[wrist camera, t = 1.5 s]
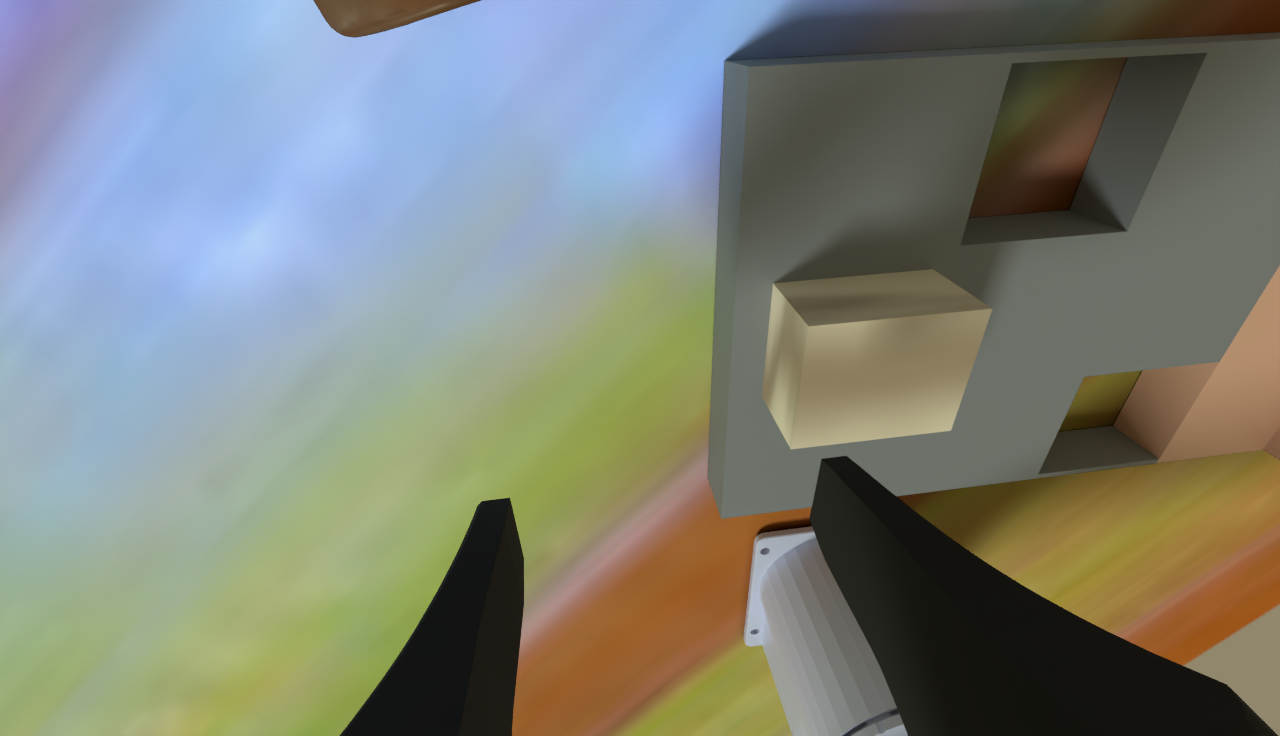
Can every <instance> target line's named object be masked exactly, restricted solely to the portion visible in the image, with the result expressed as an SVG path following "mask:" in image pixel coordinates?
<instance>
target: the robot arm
mask: <svg viewBox="0 0 1280 736" xmlns="http://www.w3.org/2000/svg"><path fill="white" fill-rule="evenodd" d="M810 522H811V524H812V526H810V527H803V528H795V529H787V530H780V531H772V532H764V533H761V534H759V535H758V536H757V537H756V538H755V540H754V548H753V557H752V566H751V575H750V584H749V593H748V602H747V611H746V620H745V629H744V641H745V644H746V645H747V646H758V645H763V648H764V651H765V654H766V657H767V660H768V663H769V666H770V669H771V672H772V675H773V678H774V681H775V684H776V687H777V690H778V693H779V696H780V699H781V702H782V705H783V708H784V711H785V714H786V717H787V720H788V723H789V726H790V729H791V732H792V735H793V736H1278V735H1277V734H1276V733H1275V732H1274V731H1273V730H1272V729H1271V728H1270V727H1269V726H1268V725H1267V724H1266V723H1265V722H1264V721H1263V720H1262V719H1261V718H1260V717H1259V716H1258V715H1257V714H1256V713H1255V712H1254V711H1253V710H1252V709H1251V708H1250V707H1249V706H1248V705H1247V704H1246V703H1245V702H1244V701H1243V700H1242V699H1241V698H1240V697H1239V696H1238V695H1237V694H1236V693H1235V692H1234V691H1233V690H1232V689H1231V688H1230V687H1228V686H1227V685H1226V684H1224V683H1222V682H1219V681H1217V680H1215V679H1212V678H1210V677H1208V676H1205V675H1203V674H1200V673H1198V672H1196V671H1193V670H1191V669H1189V668H1186V667H1184V666H1182V665H1179V664H1177V663H1175V662H1172V661H1170V660H1168V659H1165V658H1163V657H1161V656H1158V655H1156V654H1154V653H1152V652H1149V651H1147V650H1145V649H1143V648H1141V647H1139V646H1137V645H1135V644H1132V643H1130V642H1128V641H1126V640H1124V639H1122V638H1120V637H1118V636H1116V635H1114V634H1112V633H1109V632H1107V631H1105V630H1103V629H1101V628H1099V627H1098V626H1096V625H1094V624H1092V623H1090V622H1088V621H1086V620H1084V619H1082V618H1080V617H1078V616H1076V615H1074V614H1072V613H1071V612H1069V611H1067V610H1065V609H1063V608H1062V607H1060V606H1058V605H1056V604H1054V603H1052V602H1051V601H1049V600H1047V599H1045V598H1043V597H1041V596H1040V595H1038V594H1036V593H1035V592H1033V591H1031V590H1029V589H1028V588H1026V587H1024V586H1023V585H1021V584H1019V583H1018V582H1016V581H1015V580H1013V579H1011V578H1010V577H1008V576H1007V575H1005V574H1003V573H1002V572H1000V571H998V570H997V569H995V568H994V567H992V566H990V565H989V564H987V563H986V562H984V561H983V560H981V559H980V558H978V557H977V556H975V555H974V554H972V553H971V552H970V551H968V550H967V549H965V548H964V547H962V546H961V545H960V544H958V543H957V542H955V541H954V540H953V539H951V538H950V537H948V536H947V535H945V534H944V533H943V532H941V531H940V530H939V529H937V528H936V527H935V526H933V525H932V524H931V523H929V522H928V521H927V520H925V519H924V518H923V517H922V516H920V515H919V514H918V513H916V512H915V511H914V510H913V509H911V508H910V507H909V506H908V505H906V504H905V503H904V502H903V501H901V500H900V499H899V498H898V497H896V496H895V495H894V494H893V493H891V492H890V491H889V490H888V489H886V488H885V487H884V486H883V485H882V484H880V483H879V482H878V481H877V480H876V479H874V478H873V477H872V476H871V475H869V474H868V473H867V472H866V471H865V470H863V469H862V468H861V467H860V466H859V465H857V464H856V463H855V462H854V461H852V460H851V459H850V458H849V457H847V456H840V457H832V458H824V459H821V464H820V469H819V474H818V479H817V484H816V489H815V494H814V499H813V504H812V509H811V514H810ZM523 607H524V557H523V553H522V549H521V544H520V540H519V535H518V531H517V527H516V522H515V518H514V514H513V509H512V505H511V501H510V498H505V499H497V500H489V501H482V502H481V503H480V504H479V505H478V506H477V509H476V511H475V514H474V517H473V519H472V521H471V524H470V526H469V528H468V531H467V533H466V535H465V537H464V540H463V542H462V544H461V546H460V548H459V550H458V552H457V554H456V557H455V559H454V560H453V562H452V564H451V566H450V568H449V570H448V572H447V574H446V576H445V578H444V580H443V582H442V584H441V586H440V587H439V589H438V591H437V593H436V595H435V596H434V598H433V600H432V602H431V603H430V605H429V607H428V608H427V610H426V612H425V614H424V615H423V617H422V619H421V620H420V622H419V624H418V626H417V627H416V629H415V631H414V632H413V634H412V635H411V637H410V638H409V640H408V642H407V643H406V645H405V646H404V648H403V649H402V651H401V652H400V654H399V655H398V657H397V658H396V660H395V661H394V663H393V664H392V666H391V667H390V669H389V670H388V672H387V673H386V675H385V676H384V677H383V679H382V680H381V682H380V683H379V684H378V686H377V687H376V688H375V690H374V691H373V692H372V694H371V695H370V697H369V698H368V699H367V701H366V702H365V703H364V705H363V706H362V707H361V709H360V710H359V711H358V713H357V714H356V715H355V717H354V718H353V719H352V721H351V722H350V723H349V724H348V726H347V727H346V728H345V730H344V731H343V732H342V733H341V735H340V736H512V720H513V705H514V696H515V686H516V676H517V667H518V657H519V647H520V638H521V627H522V617H523Z"/></svg>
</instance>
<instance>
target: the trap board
mask: <svg viewBox="0 0 1280 736" xmlns="http://www.w3.org/2000/svg"><path fill="white" fill-rule="evenodd" d="M1119 57H1128V58H1127V61H1126V63H1125V66H1124V69H1123V71H1122V74H1121V77H1120V79H1119V82H1118V84H1117V87H1116V90H1115V92H1114V95H1113V97H1112V100H1111V103H1110V105H1109V108H1108V110H1107V113H1106V116H1105V118H1104V121H1103V124H1102V126H1101V129H1100V131H1099V134H1098V137H1097V139H1096V142H1095V144H1094V147H1093V150H1092V152H1091V155H1090V158H1089V160H1088V163H1087V165H1086V168H1085V171H1084V173H1083V176H1082V178H1081V181H1080V184H1079V186H1078V189H1077V192H1076V194H1075V197H1074V199H1073V202H1072V205H1071V207H1070V210H1063V211H1050V212H1038V213H1026V214H1013V215H1001V216H988V217H976V218H968V217H969V213H970V210H971V206H972V203H973V199H974V196H975V192H976V189H977V185H978V182H979V178H980V175H981V171H982V168H983V164H984V161H985V157H986V154H987V150H988V147H989V143H990V140H991V136H992V133H993V129H994V126H995V122H996V119H997V115H998V112H999V108H1000V105H1001V101H1002V98H1003V94H1004V91H1005V87H1006V84H1007V80H1008V77H1009V73H1010V70H1011V66H1012V63H1026V62H1045V61H1063V60H1082V59H1100V58H1119ZM929 269H933V270H935V271H936V272H938V273H939V274H941V275H942V276H944V277H945V278H947V279H948V280H950V281H952V282H953V283H955V284H956V285H958V286H959V287H961V288H962V289H964V290H965V291H967V292H968V293H970V294H971V295H973V296H974V297H976V298H977V299H979V300H980V301H982V302H983V303H985V304H986V305H988V306H989V307H991V308H992V312H991V315H990V318H989V321H988V323H987V326H986V329H985V332H984V335H983V338H982V341H981V344H980V347H979V350H978V353H977V356H976V359H975V362H974V365H973V368H972V370H971V373H970V376H969V379H968V382H967V385H966V388H965V391H964V394H963V397H962V400H961V403H960V406H959V409H958V412H957V415H956V418H955V420H954V423H953V426H952V429H951V431H944V432H936V433H927V434H919V435H910V436H902V437H893V438H885V439H876V440H868V441H859V442H850V443H842V444H833V445H825V446H816V447H808V448H799V449H790V447H789V445H788V443H787V442H786V440H785V438H784V436H783V434H782V432H781V431H780V429H779V427H778V425H777V423H776V421H775V420H774V418H773V416H772V414H771V412H770V411H769V409H768V407H767V405H766V403H765V401H764V400H763V398H762V388H763V378H764V368H765V358H766V349H767V339H768V329H769V319H770V309H771V299H772V289H773V283H783V282H794V281H805V280H816V279H828V278H839V277H850V276H861V275H873V274H884V273H895V272H906V271H918V270H929ZM1141 370H1143V371H1142V373H1141V375H1140V376H1139V378H1138V380H1137V382H1136V384H1135V386H1134V388H1133V389H1132V391H1131V393H1130V395H1129V397H1128V399H1127V401H1126V402H1125V404H1124V406H1123V408H1122V410H1121V412H1120V414H1119V415H1118V417H1117V419H1116V421H1115V423H1114V425H1113V426H1104V427H1096V428H1088V429H1079V430H1071V431H1063V432H1058V431H1059V429H1060V427H1061V425H1062V423H1063V420H1064V418H1065V416H1066V414H1067V412H1068V410H1069V408H1070V406H1071V404H1072V401H1073V399H1074V397H1075V395H1076V393H1077V391H1078V389H1079V387H1080V385H1081V382H1082V380H1083V378H1084V377H1087V376H1096V375H1105V374H1114V373H1123V372H1132V371H1141ZM1257 450H1264V451H1266V452H1268V453H1269V454H1271V455H1273V456H1274V457H1276V458H1277V459H1279V460H1280V32H1275V33H1256V34H1236V35H1217V36H1197V37H1177V38H1158V39H1138V40H1119V41H1099V42H1080V43H1060V44H1041V45H1021V46H1002V47H982V48H963V49H943V50H924V51H904V52H885V53H865V54H846V55H826V56H807V57H787V58H768V59H748V60H729V61H724V84H723V109H722V134H721V159H720V184H719V209H718V234H717V259H716V283H715V308H714V333H713V358H712V383H711V408H710V433H709V458H708V480H709V483H710V486H711V489H712V492H713V495H714V498H715V501H716V504H717V507H718V510H719V513H720V516H721V519H722V518H730V517H738V516H746V515H754V514H761V513H769V512H777V511H785V510H793V509H801V508H809V507H812V504H813V499H814V494H815V489H816V484H817V479H818V474H819V469H820V464H821V459H824V458H832V457H840V456H847V457H849V458H850V459H851V460H852V461H854V462H855V463H856V464H857V465H859V466H860V467H861V468H862V469H863V470H865V471H866V472H867V473H868V474H869V475H871V476H872V477H873V478H874V479H876V480H877V481H878V482H879V483H880V484H882V485H883V486H884V487H885V488H886V489H888V490H889V491H890V492H891V493H893V494H894V495H895V496H903V495H911V494H919V493H927V492H934V491H942V490H950V489H958V488H966V487H974V486H982V485H990V484H997V483H1005V482H1013V481H1021V480H1029V479H1037V478H1045V477H1052V476H1060V475H1068V474H1076V473H1084V472H1092V471H1100V470H1107V469H1115V468H1123V467H1131V466H1139V465H1147V464H1155V463H1163V462H1170V461H1178V460H1186V459H1194V458H1202V457H1210V456H1218V455H1225V454H1233V453H1241V452H1249V451H1257Z"/></svg>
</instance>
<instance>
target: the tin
mask: <svg viewBox="0 0 1280 736" xmlns="http://www.w3.org/2000/svg"><path fill="white" fill-rule="evenodd" d="M477 1H480V0H314V2H315V4H316V5H317V7H318V8H319V10H320V12H321V13H322V15H323V17H324V18H325V20H326V21H327V23H328V24H329V25H330V27H331V28H333V29H334V30H335V31H336V32H338V33H340V34H341V35H344V36H348V37H361V36H367V35H371V34H375V33H379V32H383V31H386V30H390V29H394V28H397V27H401V26H404V25H408V24H410V23H413V22H416V21H419V20H422V19H425V18H428V17H431V16H434V15H437V14H440V13H443V12H446V11H449V10H452V9H455V8H458V7H461V6H465V5H468V4H471V3H474V2H477Z"/></svg>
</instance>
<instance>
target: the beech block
mask: <svg viewBox="0 0 1280 736" xmlns="http://www.w3.org/2000/svg"><path fill="white" fill-rule="evenodd" d="M991 312H992V308H991V307H989V306H988V305H986V304H985V303H983V302H982V301H980V300H979V299H977V298H976V297H974V296H973V295H971V294H970V293H968V292H967V291H965V290H964V289H962V288H961V287H959V286H958V285H956V284H955V283H953V282H952V281H950V280H948V279H947V278H945V277H944V276H942V275H941V274H939V273H938V272H936V271H935V270H933V269H929V270H918V271H906V272H895V273H884V274H873V275H861V276H850V277H839V278H828V279H816V280H805V281H794V282H783V283H773V289H772V299H771V309H770V319H769V329H768V339H767V349H766V358H765V368H764V378H763V388H762V398H763V400H764V401H765V403H766V405H767V407H768V409H769V411H770V412H771V414H772V416H773V418H774V420H775V421H776V423H777V425H778V427H779V429H780V431H781V432H782V434H783V436H784V438H785V440H786V442H787V443H788V445H789V447H790V449H799V448H808V447H816V446H825V445H833V444H842V443H850V442H859V441H868V440H876V439H885V438H893V437H902V436H910V435H919V434H927V433H936V432H944V431H951V429H952V426H953V423H954V420H955V418H956V415H957V412H958V409H959V406H960V403H961V400H962V397H963V394H964V391H965V388H966V385H967V382H968V379H969V376H970V373H971V370H972V368H973V365H974V362H975V359H976V356H977V353H978V350H979V347H980V344H981V341H982V338H983V335H984V332H985V329H986V326H987V323H988V321H989V318H990V315H991Z"/></svg>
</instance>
